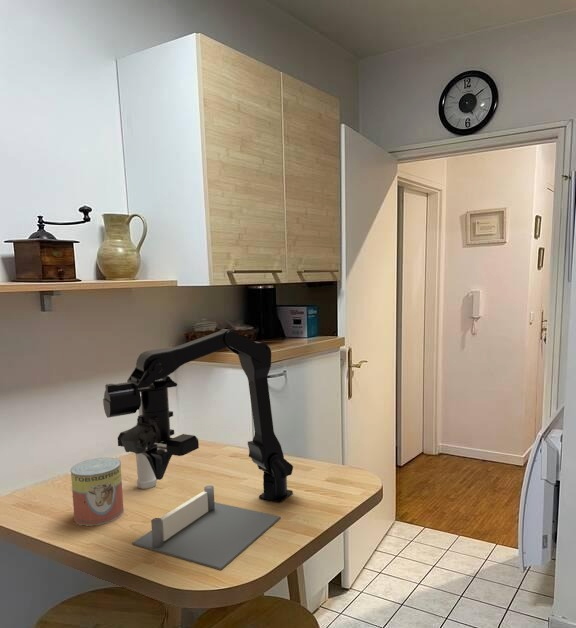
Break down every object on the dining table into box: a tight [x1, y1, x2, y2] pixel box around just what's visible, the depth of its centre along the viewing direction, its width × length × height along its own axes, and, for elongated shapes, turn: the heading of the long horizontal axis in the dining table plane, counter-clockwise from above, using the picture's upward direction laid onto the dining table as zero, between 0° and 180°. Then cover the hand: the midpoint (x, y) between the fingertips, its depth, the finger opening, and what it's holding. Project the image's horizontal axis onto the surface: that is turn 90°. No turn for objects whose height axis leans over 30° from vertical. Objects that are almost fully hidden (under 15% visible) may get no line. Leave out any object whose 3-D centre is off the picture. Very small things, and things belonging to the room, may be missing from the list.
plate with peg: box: [131, 501, 282, 571], centre depth 112 cm, size 23×23×6 cm
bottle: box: [133, 393, 157, 490], centre depth 138 cm, size 5×5×25 cm
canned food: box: [70, 457, 125, 527], centre depth 122 cm, size 11×11×12 cm
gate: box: [160, 484, 215, 541], centre depth 114 cm, size 18×2×5 cm, turn 151°
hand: (159, 479), depth 112 cm, fingers closed
